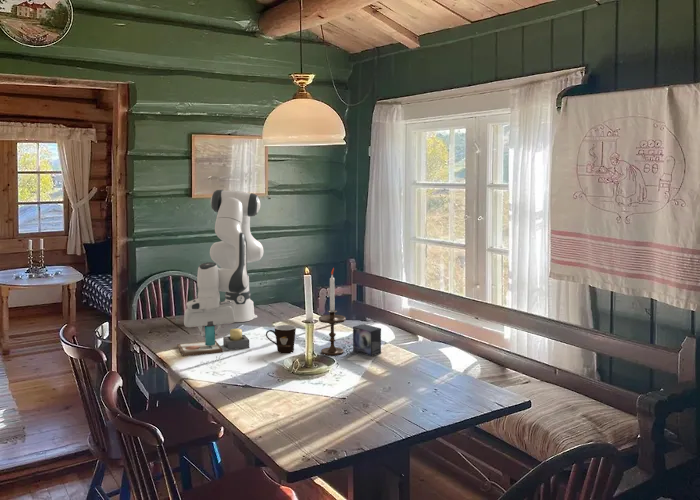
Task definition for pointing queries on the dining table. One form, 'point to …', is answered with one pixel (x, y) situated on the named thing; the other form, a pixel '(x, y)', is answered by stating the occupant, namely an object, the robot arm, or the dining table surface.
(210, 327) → the teal bottle
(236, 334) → the button cap
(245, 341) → the button housing
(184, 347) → the board
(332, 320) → the candlestick
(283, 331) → the coffee mug
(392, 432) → the dining table surface
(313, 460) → the dining table surface
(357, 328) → the small box
